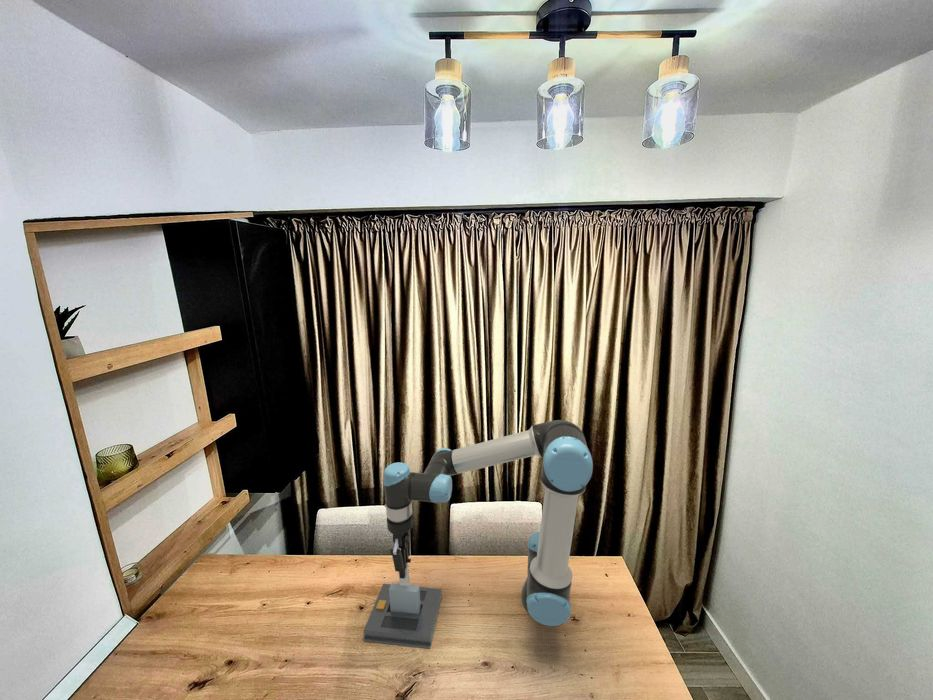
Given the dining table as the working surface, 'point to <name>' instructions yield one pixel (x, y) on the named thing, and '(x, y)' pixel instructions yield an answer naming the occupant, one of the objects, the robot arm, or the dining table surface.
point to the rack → (403, 621)
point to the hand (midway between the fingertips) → (404, 583)
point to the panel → (405, 599)
